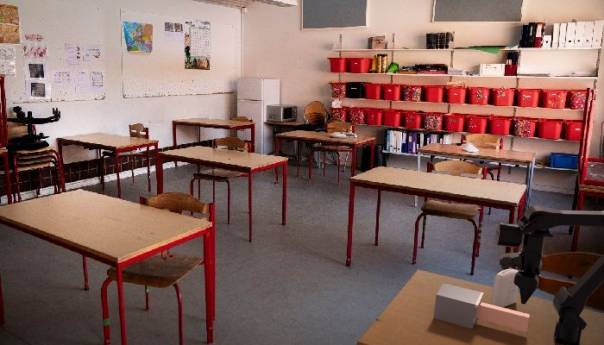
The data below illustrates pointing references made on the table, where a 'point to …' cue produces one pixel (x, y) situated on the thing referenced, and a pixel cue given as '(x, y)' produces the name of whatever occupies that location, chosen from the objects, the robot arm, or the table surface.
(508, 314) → the pink rectangular block
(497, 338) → the table surface
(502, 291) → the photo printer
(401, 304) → the table surface
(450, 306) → the pale grey box
